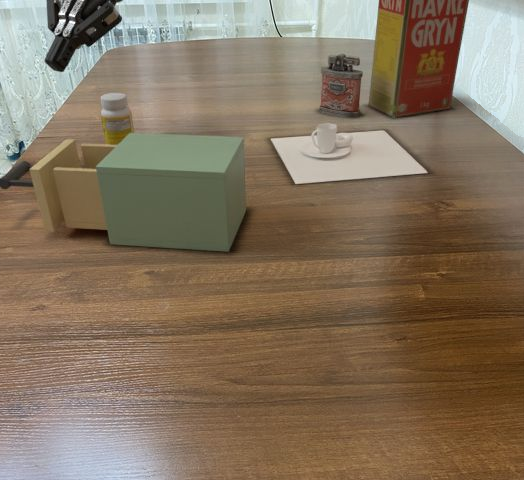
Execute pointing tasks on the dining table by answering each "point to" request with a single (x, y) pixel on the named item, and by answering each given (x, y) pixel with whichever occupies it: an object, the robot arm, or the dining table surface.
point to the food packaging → (416, 55)
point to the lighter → (341, 86)
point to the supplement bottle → (116, 117)
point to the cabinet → (174, 191)
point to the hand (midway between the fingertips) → (53, 67)
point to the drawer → (65, 185)
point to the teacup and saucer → (344, 156)
